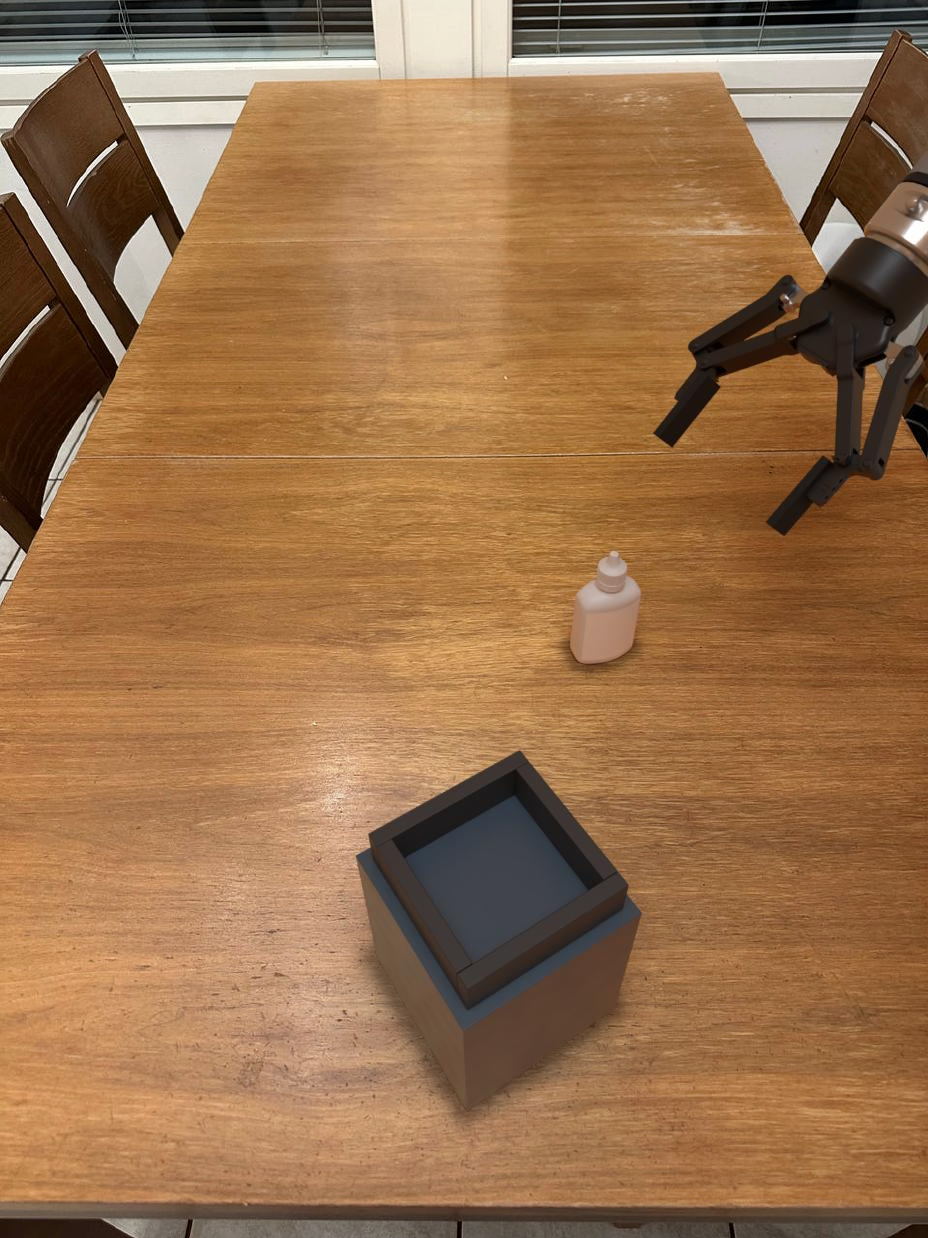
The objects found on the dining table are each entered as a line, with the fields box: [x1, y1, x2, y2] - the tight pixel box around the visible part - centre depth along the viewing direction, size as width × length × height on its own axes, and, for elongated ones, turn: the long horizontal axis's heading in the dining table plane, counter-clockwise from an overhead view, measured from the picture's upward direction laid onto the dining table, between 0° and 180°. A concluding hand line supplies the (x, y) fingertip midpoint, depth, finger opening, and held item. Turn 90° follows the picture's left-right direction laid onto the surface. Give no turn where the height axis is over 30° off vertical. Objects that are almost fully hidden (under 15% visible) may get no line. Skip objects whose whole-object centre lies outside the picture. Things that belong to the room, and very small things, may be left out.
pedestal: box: [355, 749, 643, 1112], centre depth 59 cm, size 12×12×18 cm
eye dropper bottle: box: [569, 550, 642, 665], centre depth 82 cm, size 4×6×12 cm
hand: (715, 483), depth 79 cm, fingers open, 13 cm apart
